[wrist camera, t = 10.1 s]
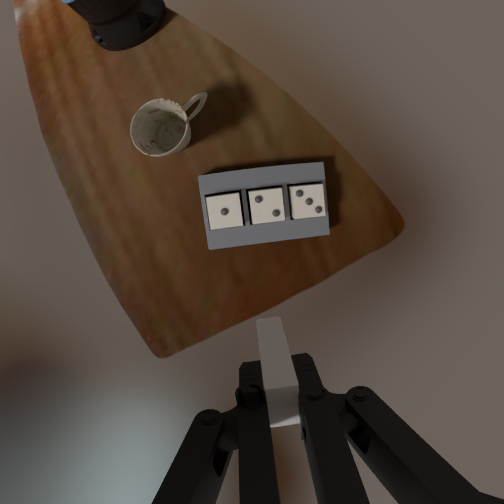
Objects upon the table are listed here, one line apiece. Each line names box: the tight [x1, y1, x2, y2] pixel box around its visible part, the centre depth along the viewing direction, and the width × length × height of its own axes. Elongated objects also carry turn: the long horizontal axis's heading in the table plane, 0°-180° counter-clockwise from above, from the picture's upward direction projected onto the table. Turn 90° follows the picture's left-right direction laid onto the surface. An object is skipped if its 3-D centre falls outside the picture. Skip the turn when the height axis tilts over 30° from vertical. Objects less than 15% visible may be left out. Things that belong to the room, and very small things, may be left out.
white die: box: [248, 187, 285, 224], centre depth 45 cm, size 5×5×4 cm
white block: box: [206, 192, 243, 230], centre depth 45 cm, size 5×5×4 cm
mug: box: [130, 92, 207, 156], centre depth 39 cm, size 8×13×10 cm, turn 136°
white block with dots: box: [287, 183, 326, 219], centre depth 45 cm, size 5×5×4 cm
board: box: [198, 162, 330, 250], centre depth 46 cm, size 12×20×3 cm, turn 97°
